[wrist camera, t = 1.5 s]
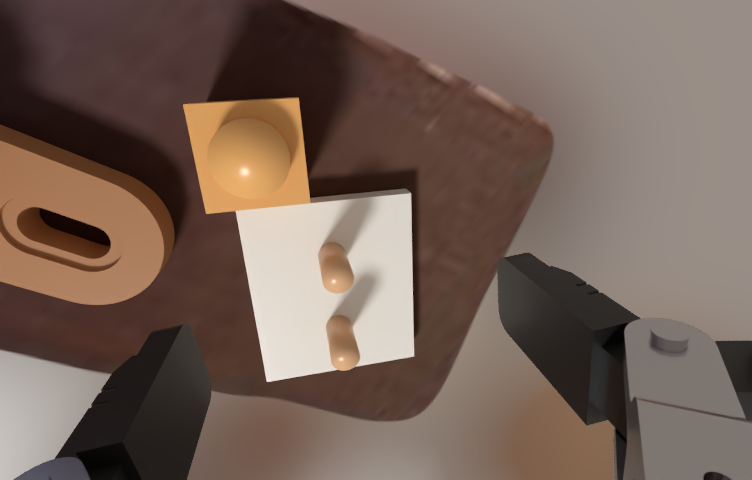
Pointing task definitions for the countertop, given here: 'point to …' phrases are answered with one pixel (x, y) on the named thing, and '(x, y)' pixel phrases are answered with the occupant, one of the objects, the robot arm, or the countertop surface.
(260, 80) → the countertop surface
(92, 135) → the countertop surface
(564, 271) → the robot arm
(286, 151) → the cube with dome top
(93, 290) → the bracket
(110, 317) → the countertop surface
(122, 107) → the countertop surface
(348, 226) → the plate
